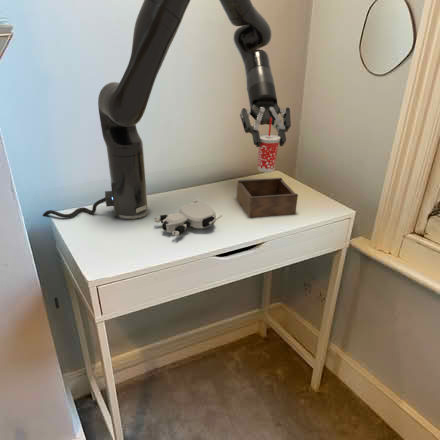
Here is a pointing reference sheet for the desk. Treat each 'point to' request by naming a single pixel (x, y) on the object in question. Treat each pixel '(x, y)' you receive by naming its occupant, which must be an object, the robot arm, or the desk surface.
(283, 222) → the desk surface
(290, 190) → the crate
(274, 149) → the beverage cup
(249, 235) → the desk surface
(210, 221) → the robot toy
